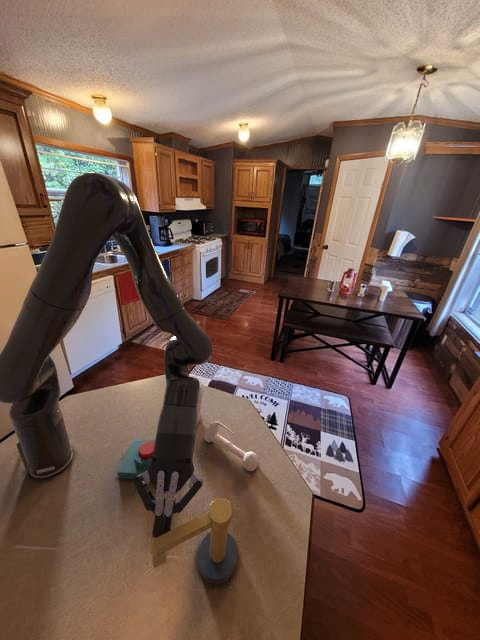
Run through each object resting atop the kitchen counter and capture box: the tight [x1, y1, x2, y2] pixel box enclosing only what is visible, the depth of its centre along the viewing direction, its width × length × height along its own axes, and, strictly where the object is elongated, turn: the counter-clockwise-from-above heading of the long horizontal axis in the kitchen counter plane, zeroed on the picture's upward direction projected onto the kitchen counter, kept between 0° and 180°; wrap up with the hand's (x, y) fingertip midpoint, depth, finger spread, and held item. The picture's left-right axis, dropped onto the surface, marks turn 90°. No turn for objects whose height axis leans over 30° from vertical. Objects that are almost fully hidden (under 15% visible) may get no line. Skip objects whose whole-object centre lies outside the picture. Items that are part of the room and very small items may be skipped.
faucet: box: [203, 420, 259, 472], centre depth 73 cm, size 4×18×10 cm, turn 56°
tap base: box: [196, 527, 238, 586], centre depth 49 cm, size 8×8×13 cm
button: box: [139, 442, 154, 459], centre depth 68 cm, size 4×4×2 cm
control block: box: [117, 439, 155, 481], centre depth 69 cm, size 12×10×4 cm
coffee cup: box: [189, 375, 205, 425], centre depth 81 cm, size 10×10×15 cm
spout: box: [150, 497, 233, 570], centre depth 44 cm, size 14×4×5 cm, turn 118°
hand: (160, 540), depth 43 cm, fingers closed
